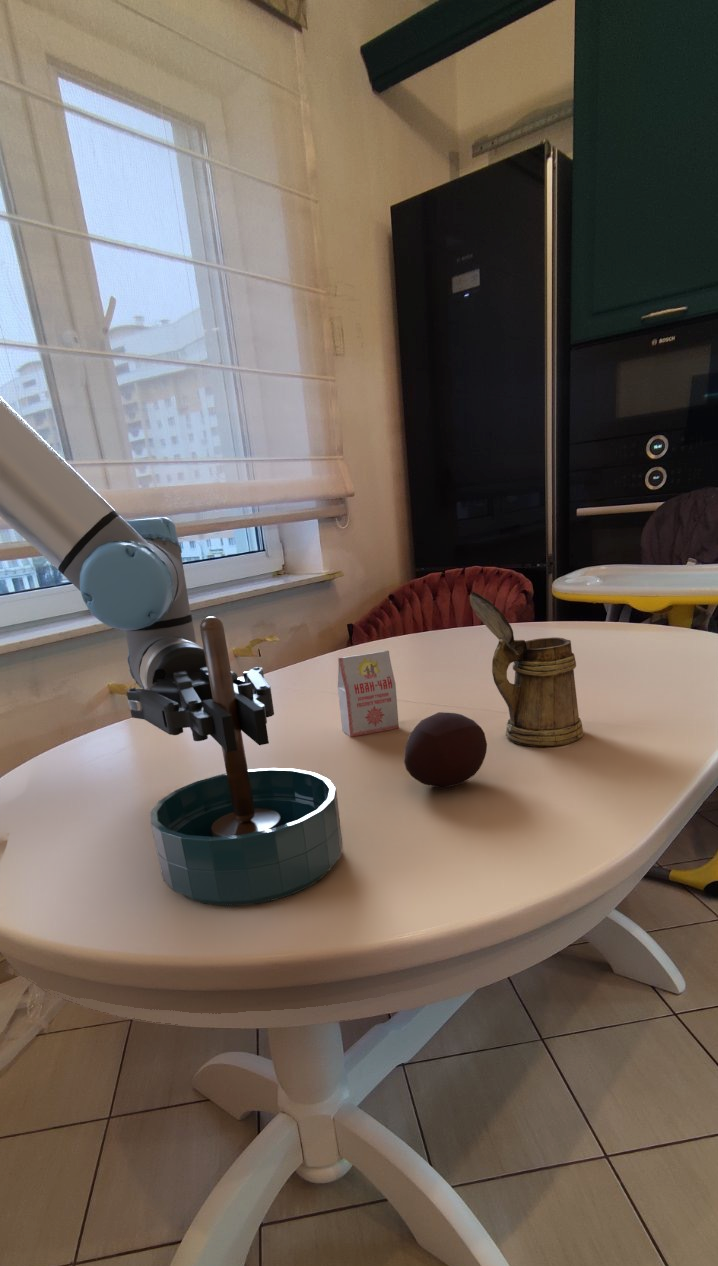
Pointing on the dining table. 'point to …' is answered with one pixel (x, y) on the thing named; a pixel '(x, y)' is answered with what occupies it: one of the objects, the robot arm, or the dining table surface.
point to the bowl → (248, 838)
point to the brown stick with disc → (235, 761)
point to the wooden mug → (533, 682)
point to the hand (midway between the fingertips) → (245, 730)
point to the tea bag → (367, 694)
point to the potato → (445, 750)
